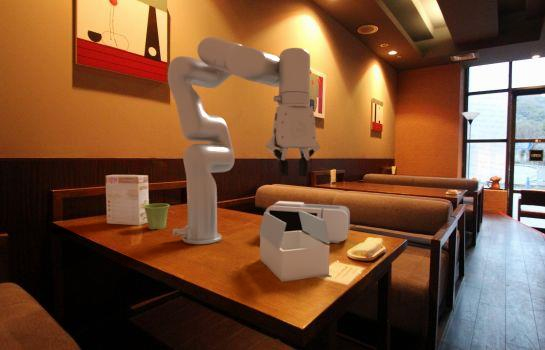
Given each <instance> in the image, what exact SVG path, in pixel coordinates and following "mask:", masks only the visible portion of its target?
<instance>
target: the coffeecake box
mask: <svg viewBox="0 0 545 350" xmlns="http://www.w3.org/2000/svg"><path fill="white" fill-rule="evenodd" d="M105 198H106V199H105V200H106V203H105V204H106V224H111V225H129V226H141V225H145V224H148V222H147V215H146V211H145V208H144V207H143V206H144V205H148V204H150V202H149V201H150V199H149V175H147V174H145V175H144V174H142V175H140V174H111V175H110V174H109V175H108V174H107V175H105Z"/></svg>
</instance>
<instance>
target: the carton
mask: <svg viewBox="0 0 545 350" xmlns="http://www.w3.org/2000/svg"><path fill="white" fill-rule="evenodd" d="M259 235H260V234H259ZM259 256H260V257H259V260H260V261H261V262H262V263H263V264H264V265H265V266H266V267H267V268H268V269H269V270H270V271H271V272H272V273H273V274H274V275H275V276H276V277H277V278H278V279H279V280H280V282H281V283H283V282H290V281H297V280H304V279H311V278H312V279H313V278H320V277H325V276H330V245H329V244H327V243H325V242H321V241H319V240H317V239H315V238H313V237H312V236H310V235H308V234H306V233H304V232H302V231H289V232H284V235H283V239H282V242H281V246H280V249H277V248H276V247H275V246H274V245H272V244H271V243H270V242H269V241H267V240H266V239H265V238H263V237H262V236H261V235H260V237H259Z"/></svg>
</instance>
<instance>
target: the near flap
mask: <svg viewBox="0 0 545 350" xmlns="http://www.w3.org/2000/svg"><path fill="white" fill-rule="evenodd" d="M263 212H264V213H263V215H262V221H261V223H260V228H259V232H258V235H261V236H262V237H263V238H265V239H266V240H267V241H269V242H270V243H271V244H272V245H274V246H275V247H276V248H277V249H280V246H281V242H282V239H283V235H284V231H285V227H286V223H285V222H283V221H281V220H279V219H277V218H276V217H274V216H272V215H270V214H268V213H266V211H263Z"/></svg>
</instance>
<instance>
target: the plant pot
mask: <svg viewBox="0 0 545 350" xmlns="http://www.w3.org/2000/svg"><path fill="white" fill-rule="evenodd" d="M170 206H171V205H170V204H168V203H149V204H148V205H144V206H143V207H144V208H145V211H146V215H147V222H148V223H147V228H148V229H149V230H163V229H165V228H166V226H167V218H168V212H169V211H168V210H169V207H170Z"/></svg>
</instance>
